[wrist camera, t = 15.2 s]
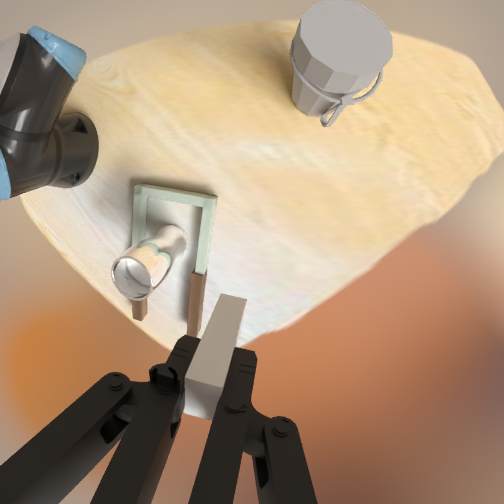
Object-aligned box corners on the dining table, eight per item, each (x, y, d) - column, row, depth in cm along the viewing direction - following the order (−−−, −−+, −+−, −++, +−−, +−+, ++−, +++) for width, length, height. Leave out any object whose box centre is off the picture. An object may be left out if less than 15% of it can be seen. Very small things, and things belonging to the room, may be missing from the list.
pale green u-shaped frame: (138, 251, 49) (131, 256, 47) (141, 183, 44) (134, 185, 42) (207, 268, 48) (203, 274, 46) (217, 196, 43) (213, 199, 41)
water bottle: (284, 77, 35) (279, -4, 12) (334, 73, 34) (386, -3, 10) (295, 133, 38) (307, 111, 15) (345, 128, 37) (419, 108, 14)
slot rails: (139, 310, 54) (132, 318, 51) (138, 251, 49) (130, 257, 46) (200, 328, 54) (196, 337, 51) (207, 268, 48) (202, 276, 45)
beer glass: (176, 266, 49) (138, 311, 35) (148, 241, 48) (102, 277, 34) (198, 241, 47) (163, 281, 33) (168, 214, 45) (123, 244, 32)
